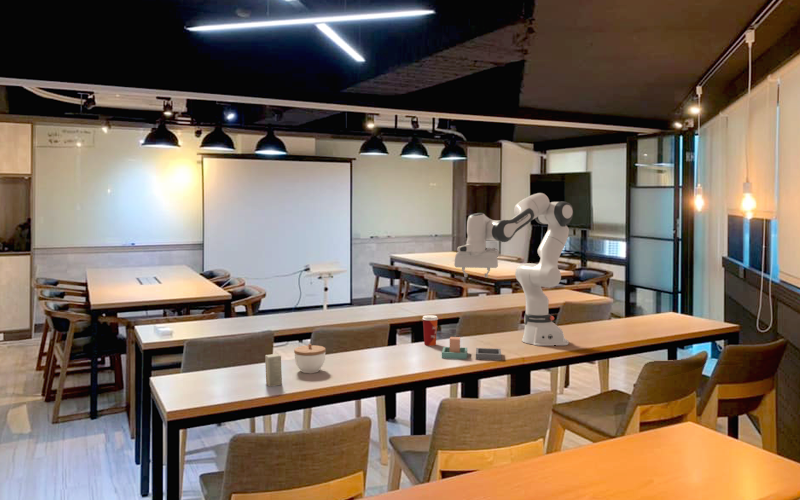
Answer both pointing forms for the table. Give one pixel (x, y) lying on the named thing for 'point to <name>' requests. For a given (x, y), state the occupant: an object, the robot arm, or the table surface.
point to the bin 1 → (454, 353)
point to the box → (273, 370)
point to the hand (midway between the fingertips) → (475, 277)
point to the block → (455, 344)
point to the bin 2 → (488, 354)
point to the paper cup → (430, 329)
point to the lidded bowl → (309, 358)
